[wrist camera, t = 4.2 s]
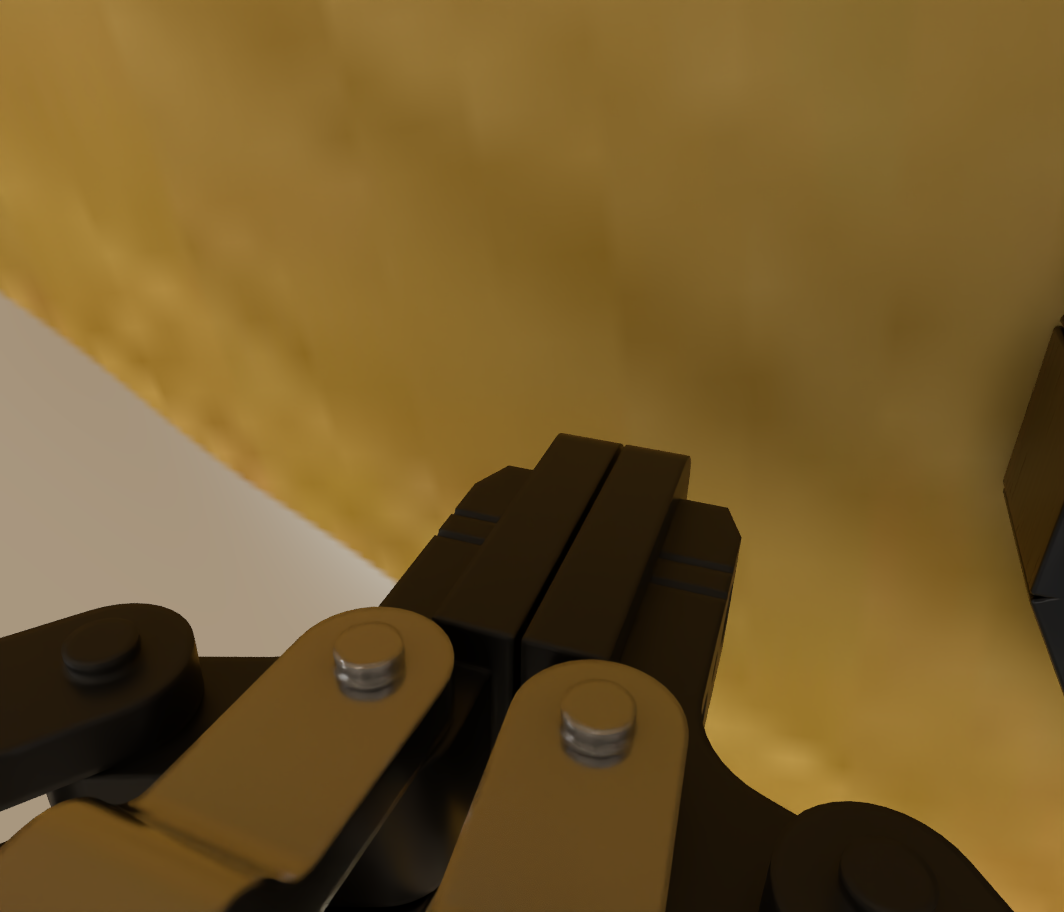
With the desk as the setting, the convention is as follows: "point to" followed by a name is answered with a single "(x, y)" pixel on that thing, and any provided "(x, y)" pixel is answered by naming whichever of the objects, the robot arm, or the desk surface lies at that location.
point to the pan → (1042, 500)
